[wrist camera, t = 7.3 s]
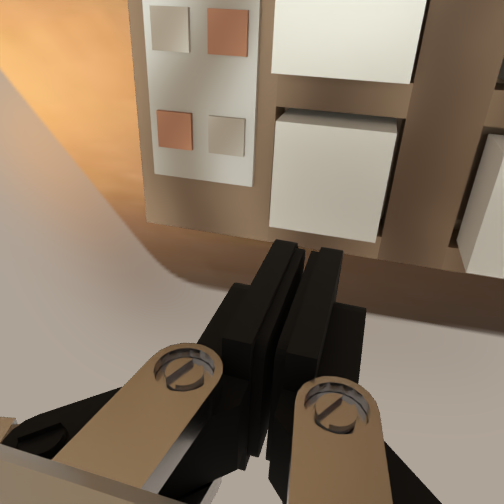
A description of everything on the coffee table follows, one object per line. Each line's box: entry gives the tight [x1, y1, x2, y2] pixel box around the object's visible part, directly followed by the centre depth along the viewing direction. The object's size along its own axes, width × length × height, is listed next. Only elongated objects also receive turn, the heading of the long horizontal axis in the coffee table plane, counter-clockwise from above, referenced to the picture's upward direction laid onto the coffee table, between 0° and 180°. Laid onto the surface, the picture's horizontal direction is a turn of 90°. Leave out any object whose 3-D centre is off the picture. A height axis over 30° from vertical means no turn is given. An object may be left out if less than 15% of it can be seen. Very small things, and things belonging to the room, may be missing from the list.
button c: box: [271, 0, 427, 84], centre depth 15 cm, size 5×5×3 cm
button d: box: [269, 108, 397, 243], centre depth 19 cm, size 5×5×3 cm
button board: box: [128, 0, 504, 280], centre depth 18 cm, size 22×14×4 cm, turn 87°
